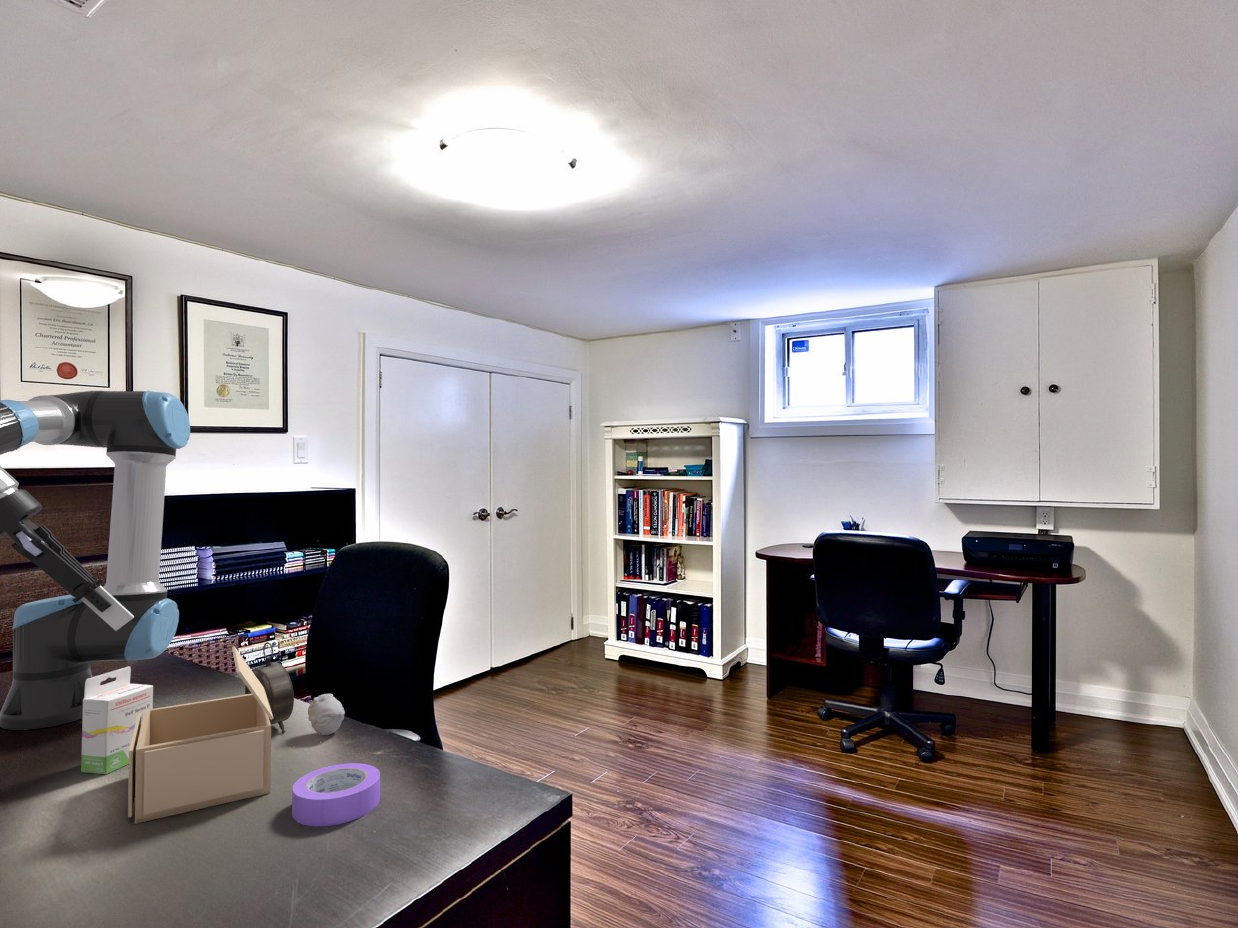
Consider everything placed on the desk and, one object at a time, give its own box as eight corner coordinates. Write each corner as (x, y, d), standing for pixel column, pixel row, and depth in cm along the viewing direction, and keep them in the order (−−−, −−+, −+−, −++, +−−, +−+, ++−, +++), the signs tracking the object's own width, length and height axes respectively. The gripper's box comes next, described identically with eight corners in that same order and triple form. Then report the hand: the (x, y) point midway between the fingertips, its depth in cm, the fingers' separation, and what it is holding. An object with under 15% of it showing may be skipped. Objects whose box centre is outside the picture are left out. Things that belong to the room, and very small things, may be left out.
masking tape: (284, 802, 97) (284, 775, 97) (366, 780, 104) (366, 755, 104) (302, 837, 88) (302, 807, 88) (391, 810, 95) (391, 783, 95)
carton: (137, 772, 106) (138, 709, 106) (260, 748, 115) (260, 690, 115) (127, 827, 89) (128, 753, 90) (270, 794, 99) (271, 727, 99)
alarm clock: (295, 732, 123) (296, 643, 123) (265, 741, 118) (266, 650, 119) (268, 718, 129) (269, 634, 130) (238, 726, 125) (239, 640, 125)
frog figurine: (329, 724, 126) (330, 687, 127) (352, 732, 123) (353, 694, 123) (299, 734, 121) (300, 696, 121) (322, 743, 118) (322, 703, 118)
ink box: (105, 775, 105) (106, 681, 105) (79, 772, 106) (81, 679, 106) (154, 753, 113) (155, 666, 114) (129, 750, 114) (130, 664, 115)
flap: (261, 689, 114) (231, 647, 112) (263, 687, 114) (234, 645, 112) (270, 719, 100) (237, 672, 98) (273, 718, 100) (239, 670, 98)
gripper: (-24, 520, 96) (104, 634, 103) (-51, 523, 85) (95, 650, 92) (30, 486, 99) (150, 599, 107) (11, 485, 88) (147, 611, 96)
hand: (125, 623), depth 100 cm, fingers closed
